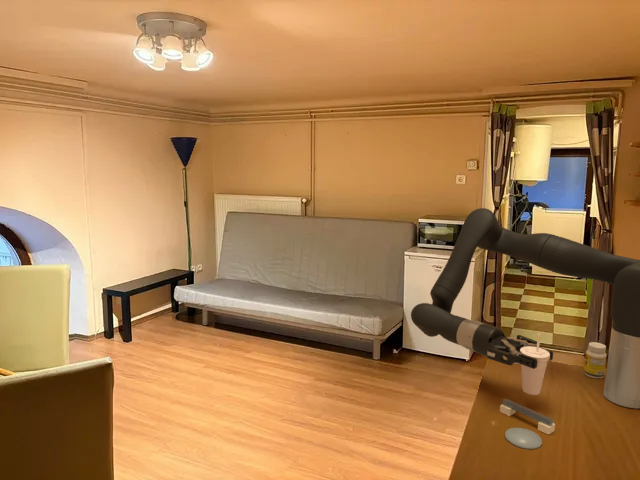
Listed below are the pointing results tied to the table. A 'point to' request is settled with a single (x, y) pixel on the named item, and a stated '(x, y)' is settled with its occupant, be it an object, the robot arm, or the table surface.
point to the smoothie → (534, 376)
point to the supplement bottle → (595, 360)
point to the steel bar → (528, 412)
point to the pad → (523, 438)
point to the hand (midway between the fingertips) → (544, 360)
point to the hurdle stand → (541, 426)
